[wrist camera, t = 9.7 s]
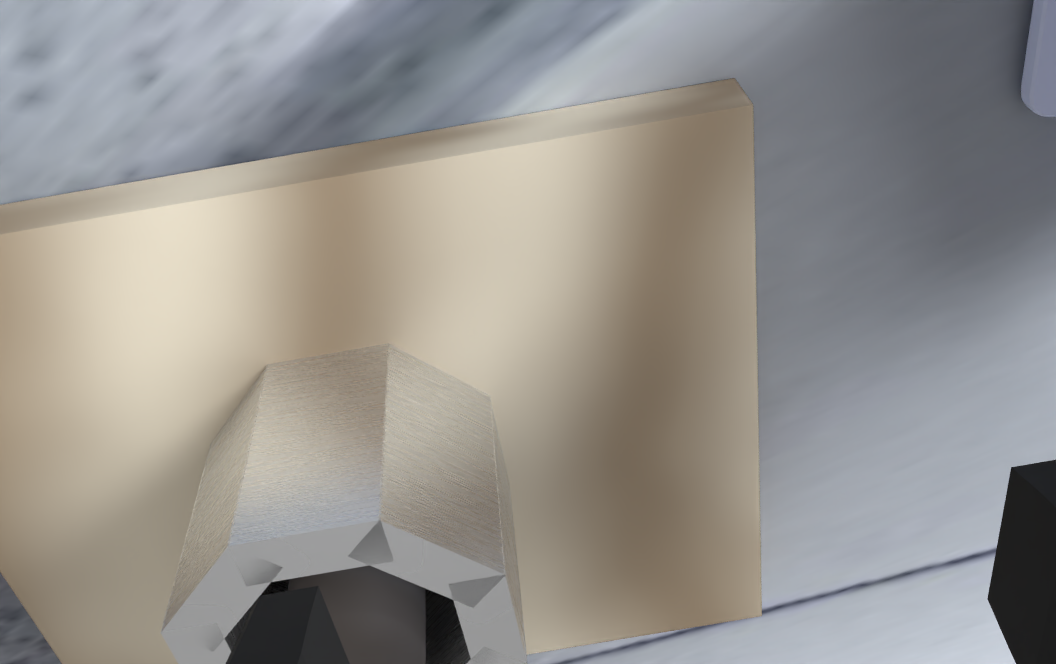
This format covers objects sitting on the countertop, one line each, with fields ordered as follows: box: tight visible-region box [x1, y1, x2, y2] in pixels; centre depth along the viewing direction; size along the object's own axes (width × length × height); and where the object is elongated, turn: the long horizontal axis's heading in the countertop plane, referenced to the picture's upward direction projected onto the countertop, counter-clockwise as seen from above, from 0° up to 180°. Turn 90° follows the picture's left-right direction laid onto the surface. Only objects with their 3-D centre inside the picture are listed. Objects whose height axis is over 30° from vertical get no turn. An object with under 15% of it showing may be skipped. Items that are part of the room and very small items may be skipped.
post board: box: [0, 78, 762, 664], centre depth 19 cm, size 16×13×6 cm
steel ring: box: [160, 343, 528, 664], centre depth 18 cm, size 6×6×4 cm
